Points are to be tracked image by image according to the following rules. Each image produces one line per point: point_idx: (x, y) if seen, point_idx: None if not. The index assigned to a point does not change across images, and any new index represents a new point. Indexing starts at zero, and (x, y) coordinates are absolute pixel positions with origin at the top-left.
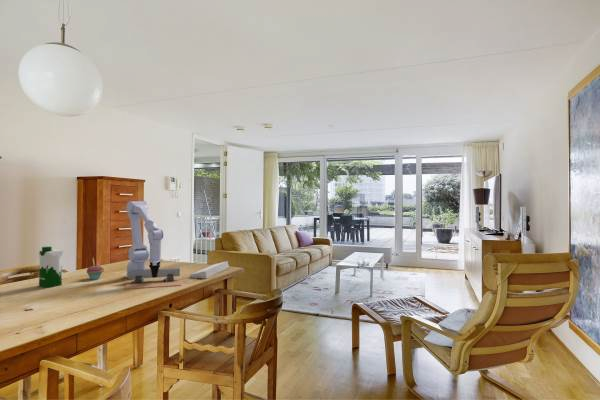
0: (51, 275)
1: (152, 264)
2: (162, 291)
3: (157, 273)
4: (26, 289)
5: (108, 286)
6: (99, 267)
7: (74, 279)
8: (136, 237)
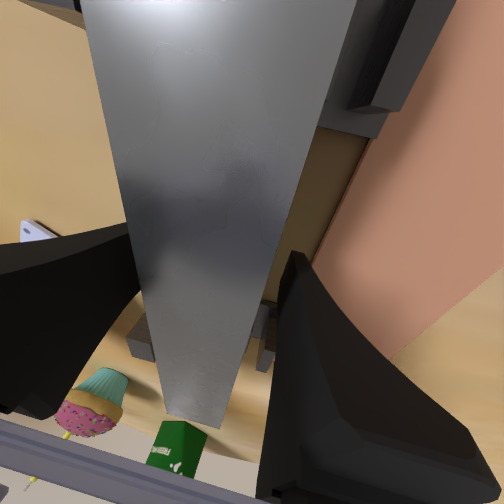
0: (192, 476)
1: (59, 370)
2: None
3: (319, 279)
4: (208, 444)
5: (256, 389)
6: (82, 425)
7: (123, 397)
8: None
